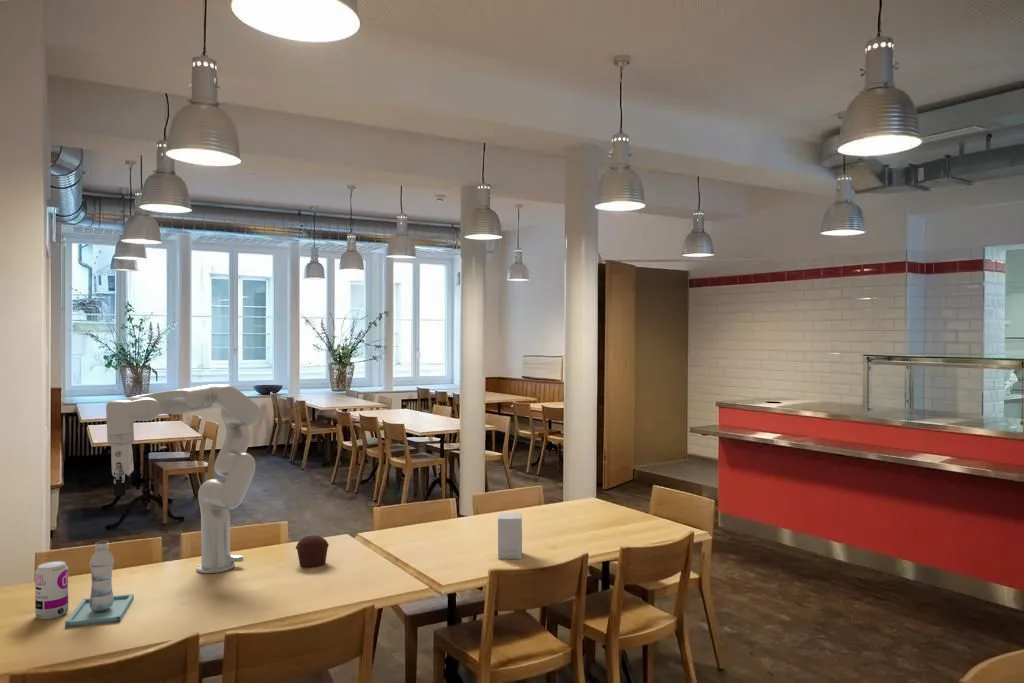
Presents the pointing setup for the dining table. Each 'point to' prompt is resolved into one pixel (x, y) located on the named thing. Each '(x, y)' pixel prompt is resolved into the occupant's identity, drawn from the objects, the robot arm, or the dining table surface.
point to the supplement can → (51, 590)
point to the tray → (99, 612)
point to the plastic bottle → (101, 578)
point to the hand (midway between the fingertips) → (122, 492)
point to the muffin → (312, 551)
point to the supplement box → (510, 536)
